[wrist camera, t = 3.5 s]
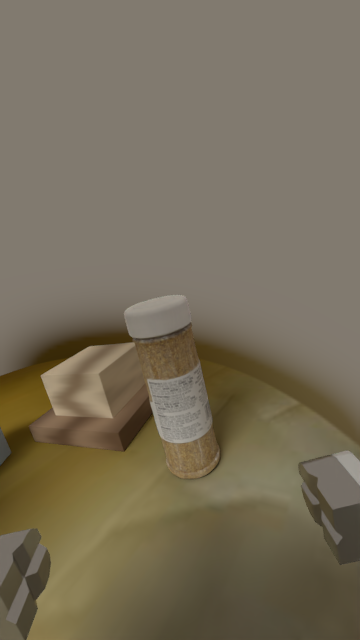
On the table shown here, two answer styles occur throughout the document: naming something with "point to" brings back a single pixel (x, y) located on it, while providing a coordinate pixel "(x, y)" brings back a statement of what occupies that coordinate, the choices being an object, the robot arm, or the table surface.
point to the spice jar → (174, 383)
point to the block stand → (95, 399)
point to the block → (3, 448)
